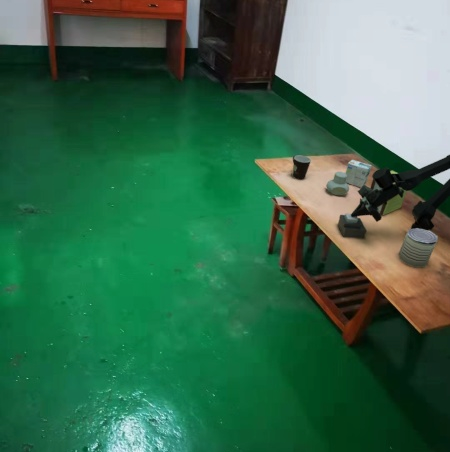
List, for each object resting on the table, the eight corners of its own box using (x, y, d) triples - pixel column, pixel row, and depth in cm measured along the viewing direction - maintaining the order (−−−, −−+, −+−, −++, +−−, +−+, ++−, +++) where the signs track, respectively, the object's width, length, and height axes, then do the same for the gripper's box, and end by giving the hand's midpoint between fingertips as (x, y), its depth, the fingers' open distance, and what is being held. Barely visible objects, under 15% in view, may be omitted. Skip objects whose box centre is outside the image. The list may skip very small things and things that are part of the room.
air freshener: (345, 189, 230) (350, 171, 224) (348, 197, 223) (354, 179, 217) (324, 187, 229) (328, 169, 224) (326, 195, 223) (331, 176, 217)
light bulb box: (366, 184, 238) (372, 165, 232) (362, 188, 233) (368, 169, 227) (347, 177, 242) (352, 158, 236) (342, 181, 237) (347, 162, 231)
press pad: (353, 219, 196) (355, 214, 194) (356, 224, 192) (358, 219, 191) (343, 218, 195) (345, 213, 194) (346, 224, 192) (347, 218, 190)
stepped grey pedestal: (357, 225, 201) (361, 214, 198) (364, 238, 193) (367, 226, 189) (336, 224, 200) (339, 212, 197) (341, 236, 192) (345, 225, 189)
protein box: (401, 207, 219) (411, 178, 211) (382, 216, 211) (392, 186, 202) (382, 198, 226) (392, 169, 217) (364, 206, 217) (373, 176, 209)
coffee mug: (308, 181, 234) (312, 163, 228) (291, 179, 233) (295, 161, 228) (305, 171, 243) (308, 153, 238) (289, 169, 243) (292, 152, 238)
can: (411, 270, 177) (422, 244, 170) (392, 253, 185) (401, 228, 179) (433, 265, 181) (444, 240, 175) (413, 249, 190) (423, 224, 183)
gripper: (368, 171, 191) (336, 192, 196) (382, 192, 176) (347, 214, 181) (381, 189, 196) (349, 209, 201) (395, 211, 181) (361, 232, 186)
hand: (351, 215), depth 192 cm, fingers closed, pressing on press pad
